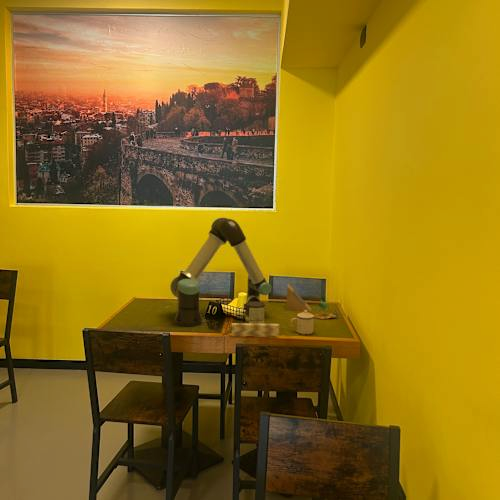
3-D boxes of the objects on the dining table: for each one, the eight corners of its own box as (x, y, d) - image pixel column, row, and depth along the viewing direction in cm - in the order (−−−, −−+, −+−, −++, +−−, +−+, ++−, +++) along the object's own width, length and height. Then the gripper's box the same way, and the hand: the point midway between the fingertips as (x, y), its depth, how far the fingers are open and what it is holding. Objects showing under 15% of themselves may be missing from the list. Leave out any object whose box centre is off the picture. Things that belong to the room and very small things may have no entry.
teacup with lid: (313, 330, 251) (314, 308, 249) (313, 335, 242) (314, 313, 240) (290, 328, 252) (291, 307, 251) (290, 334, 243) (291, 312, 242)
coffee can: (240, 329, 249) (241, 303, 247) (253, 325, 257) (253, 300, 255) (256, 333, 242) (256, 307, 241) (268, 329, 250) (268, 303, 248)
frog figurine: (340, 321, 269) (338, 296, 267) (308, 322, 273) (307, 297, 271) (340, 316, 278) (339, 292, 276) (310, 317, 282) (308, 293, 281)
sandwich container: (311, 311, 289) (312, 287, 287) (286, 309, 291) (287, 286, 289) (311, 307, 297) (312, 284, 295) (287, 306, 299) (287, 283, 297)
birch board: (231, 336, 237) (231, 324, 236) (231, 334, 240) (231, 323, 239) (278, 337, 238) (279, 325, 237) (278, 335, 241) (278, 323, 240)
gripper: (264, 309, 278) (267, 320, 255) (242, 309, 278) (243, 320, 254) (265, 297, 277) (268, 307, 254) (243, 296, 276) (244, 307, 253)
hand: (255, 314), depth 254 cm, fingers closed
